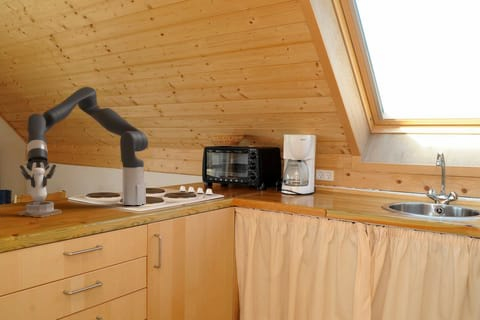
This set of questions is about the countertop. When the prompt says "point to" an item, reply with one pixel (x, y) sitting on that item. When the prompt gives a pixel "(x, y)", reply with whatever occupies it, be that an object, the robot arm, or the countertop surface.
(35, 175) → the salt shaker
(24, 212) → the cup holder
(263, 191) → the countertop surface
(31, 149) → the robot arm
